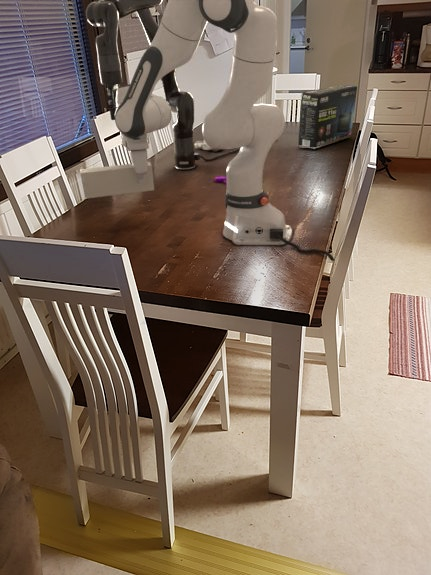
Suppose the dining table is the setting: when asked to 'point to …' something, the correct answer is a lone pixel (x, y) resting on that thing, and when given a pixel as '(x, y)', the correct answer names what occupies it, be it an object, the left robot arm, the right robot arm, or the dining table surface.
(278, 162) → the dining table surface
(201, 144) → the fossil
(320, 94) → the router box
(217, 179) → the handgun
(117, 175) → the bar
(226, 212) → the right robot arm
